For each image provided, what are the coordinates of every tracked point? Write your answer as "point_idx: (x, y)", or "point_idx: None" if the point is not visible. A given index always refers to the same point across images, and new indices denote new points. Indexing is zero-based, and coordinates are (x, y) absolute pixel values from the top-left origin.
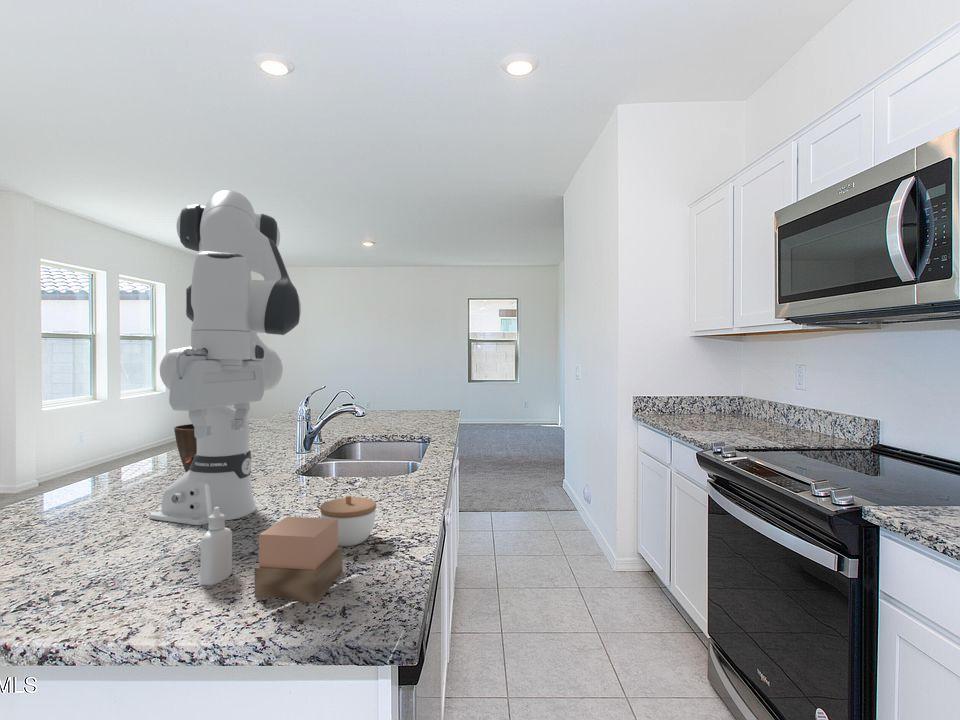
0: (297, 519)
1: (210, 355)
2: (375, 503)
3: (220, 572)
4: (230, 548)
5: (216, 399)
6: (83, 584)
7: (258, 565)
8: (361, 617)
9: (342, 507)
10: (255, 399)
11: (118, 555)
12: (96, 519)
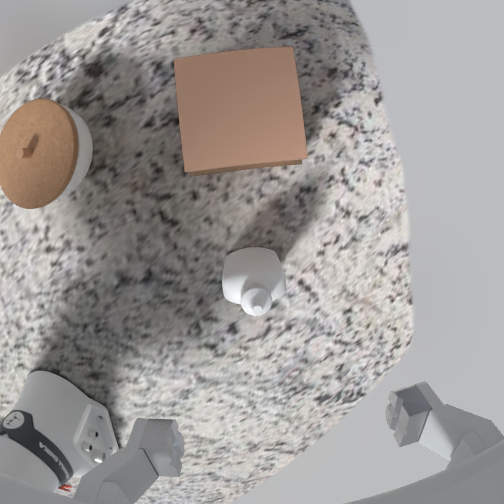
0: (198, 136)
1: None
2: (17, 109)
3: (263, 251)
4: (236, 262)
5: (475, 491)
6: (300, 396)
7: (292, 163)
8: (302, 12)
9: (50, 146)
10: (38, 494)
11: (220, 425)
12: (149, 491)
